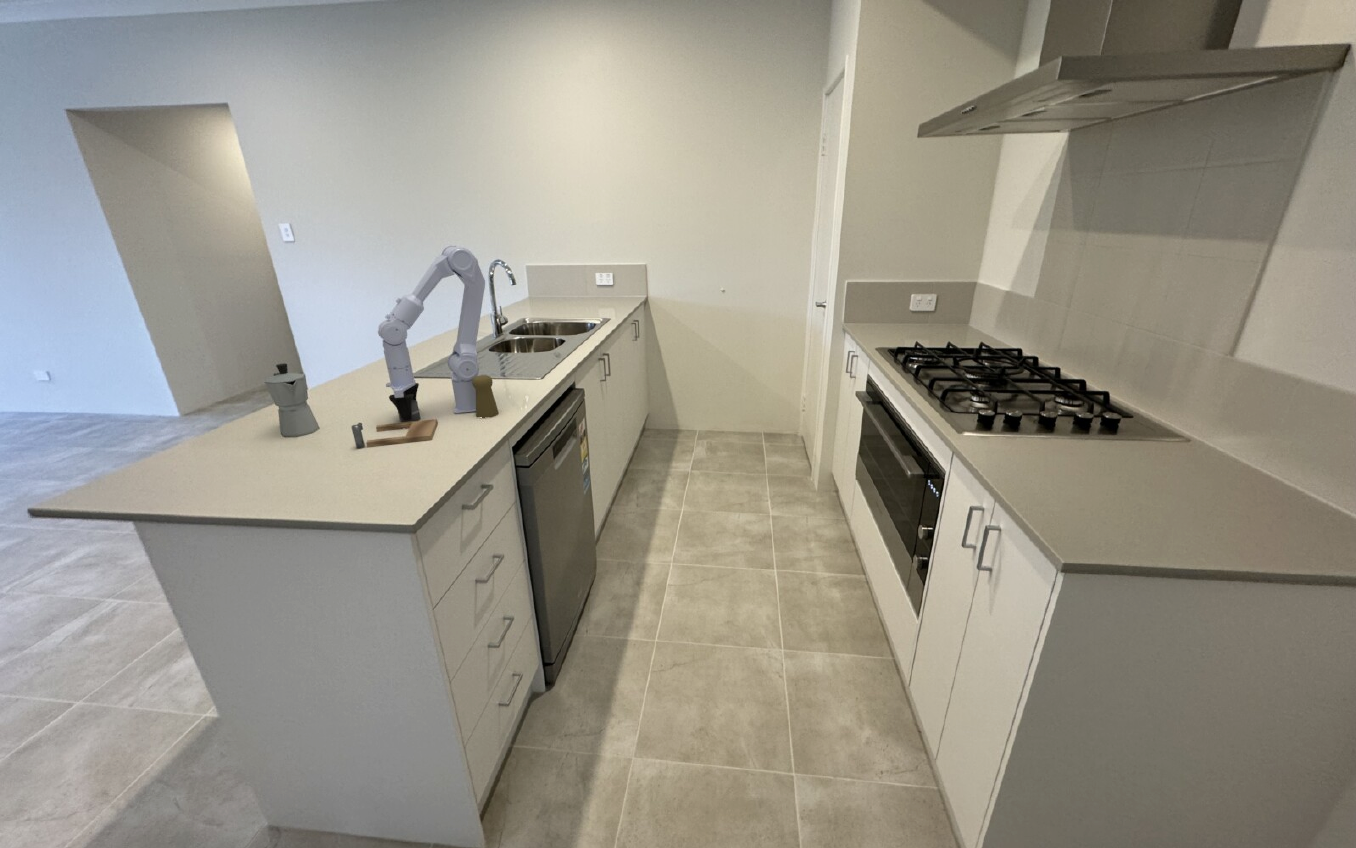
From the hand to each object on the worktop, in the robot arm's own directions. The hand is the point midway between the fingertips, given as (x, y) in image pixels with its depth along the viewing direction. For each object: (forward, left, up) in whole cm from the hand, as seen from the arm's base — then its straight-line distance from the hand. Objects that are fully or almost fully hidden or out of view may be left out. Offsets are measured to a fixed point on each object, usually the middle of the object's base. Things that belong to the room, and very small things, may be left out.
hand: (409, 415), depth 149 cm
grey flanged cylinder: (0, 0, -2) cm, 2 cm away
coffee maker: (+27, -1, -2) cm, 27 cm away
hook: (+9, +15, -1) cm, 17 cm away
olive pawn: (-20, +2, -2) cm, 20 cm away
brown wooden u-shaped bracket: (-1, +11, -1) cm, 11 cm away
